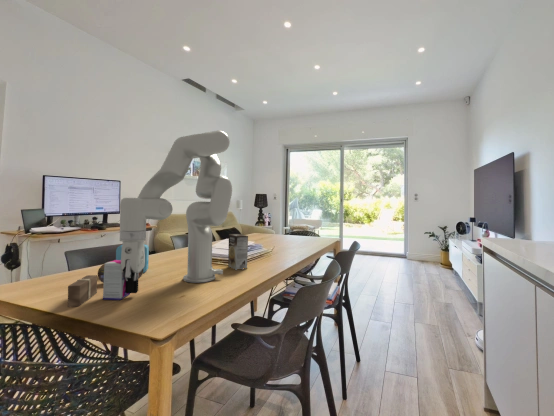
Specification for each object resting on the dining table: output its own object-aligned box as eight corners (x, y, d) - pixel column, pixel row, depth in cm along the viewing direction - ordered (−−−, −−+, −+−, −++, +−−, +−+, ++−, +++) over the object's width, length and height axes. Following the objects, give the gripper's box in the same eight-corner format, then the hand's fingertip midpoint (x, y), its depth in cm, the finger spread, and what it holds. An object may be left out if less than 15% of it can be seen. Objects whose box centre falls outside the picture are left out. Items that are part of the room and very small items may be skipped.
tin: (97, 285, 99) (97, 262, 99) (98, 283, 102) (98, 260, 102) (143, 281, 106) (143, 259, 106) (142, 279, 109) (143, 258, 109)
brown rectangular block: (97, 293, 91) (97, 274, 91) (80, 306, 79) (80, 284, 79) (86, 293, 90) (86, 274, 90) (67, 306, 78) (67, 285, 78)
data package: (148, 270, 122) (148, 244, 122) (146, 273, 118) (146, 245, 118) (118, 271, 119) (119, 244, 119) (115, 274, 115) (116, 246, 115)
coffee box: (227, 266, 134) (228, 234, 134) (239, 265, 138) (240, 233, 138) (235, 270, 127) (236, 236, 127) (247, 269, 130) (248, 235, 130)
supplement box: (121, 300, 84) (122, 263, 84) (102, 300, 84) (102, 263, 84) (131, 294, 90) (131, 260, 90) (113, 294, 90) (113, 259, 90)
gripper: (139, 238, 81) (138, 299, 81) (150, 233, 96) (149, 285, 96) (111, 238, 79) (110, 301, 80) (127, 233, 94) (126, 286, 94)
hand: (132, 292), depth 88 cm, fingers closed
